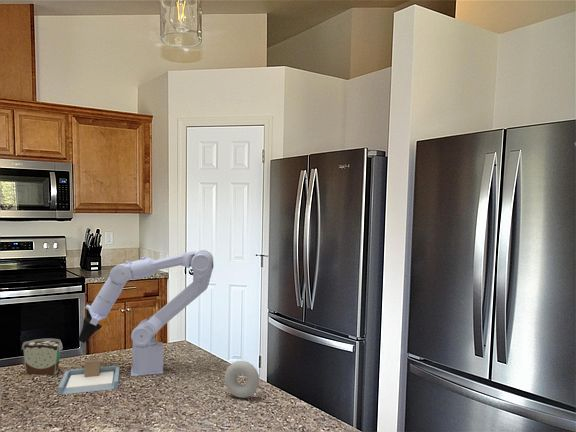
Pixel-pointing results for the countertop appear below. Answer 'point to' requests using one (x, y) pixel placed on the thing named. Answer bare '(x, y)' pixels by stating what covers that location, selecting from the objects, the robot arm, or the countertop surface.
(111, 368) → the open box
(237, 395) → the donut
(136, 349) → the robot arm
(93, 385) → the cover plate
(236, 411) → the countertop surface
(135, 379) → the countertop surface
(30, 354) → the food container
